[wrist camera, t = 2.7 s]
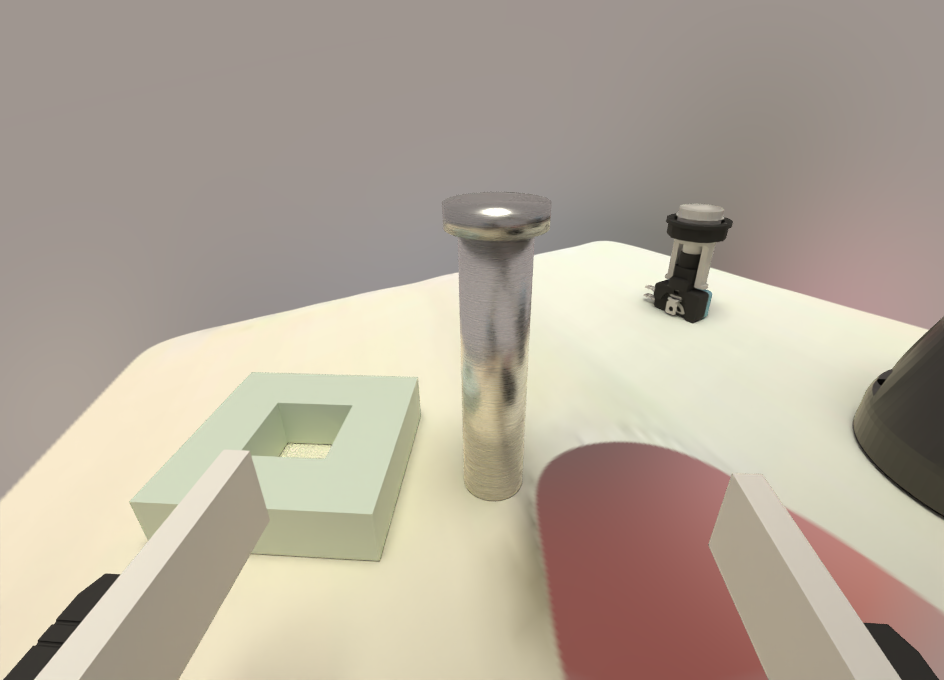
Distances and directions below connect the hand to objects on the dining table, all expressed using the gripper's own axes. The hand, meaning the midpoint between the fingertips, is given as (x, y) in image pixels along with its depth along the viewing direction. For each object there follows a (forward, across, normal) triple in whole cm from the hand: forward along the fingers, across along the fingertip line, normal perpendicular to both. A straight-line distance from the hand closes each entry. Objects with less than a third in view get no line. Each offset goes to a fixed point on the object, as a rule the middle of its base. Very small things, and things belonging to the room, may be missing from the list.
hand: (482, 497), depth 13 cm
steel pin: (+10, 0, -9) cm, 13 cm away
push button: (+34, +17, -9) cm, 39 cm away
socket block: (+10, -10, -9) cm, 17 cm away
